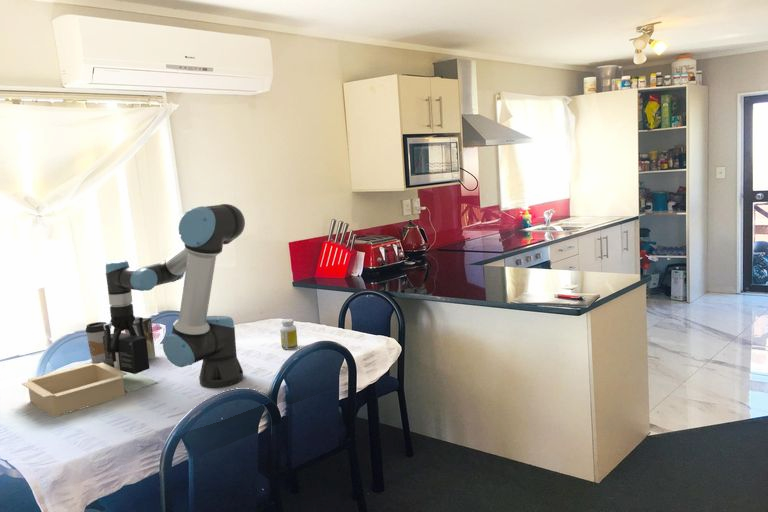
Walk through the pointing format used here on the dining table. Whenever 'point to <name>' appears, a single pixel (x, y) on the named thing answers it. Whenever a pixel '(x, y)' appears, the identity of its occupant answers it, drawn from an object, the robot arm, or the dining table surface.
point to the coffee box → (146, 335)
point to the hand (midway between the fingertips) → (127, 366)
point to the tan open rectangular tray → (76, 388)
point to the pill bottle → (288, 334)
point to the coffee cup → (96, 341)
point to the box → (130, 353)
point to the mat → (136, 381)
